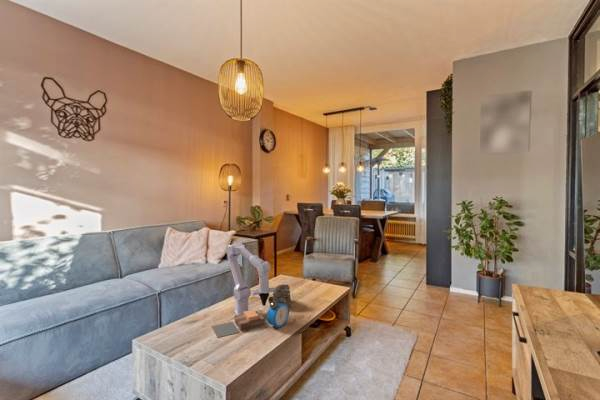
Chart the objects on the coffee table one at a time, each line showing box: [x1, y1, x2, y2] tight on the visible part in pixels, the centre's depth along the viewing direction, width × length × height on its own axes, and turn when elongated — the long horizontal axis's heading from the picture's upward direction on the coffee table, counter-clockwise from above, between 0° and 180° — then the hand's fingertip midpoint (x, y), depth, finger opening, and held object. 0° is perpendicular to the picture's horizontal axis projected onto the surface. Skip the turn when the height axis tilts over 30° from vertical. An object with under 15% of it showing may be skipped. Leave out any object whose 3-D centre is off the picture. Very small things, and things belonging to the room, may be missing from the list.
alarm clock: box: [266, 298, 290, 329], centre depth 169 cm, size 13×6×15 cm, turn 142°
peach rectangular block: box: [244, 309, 259, 321], centre depth 171 cm, size 9×6×2 cm, turn 30°
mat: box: [211, 321, 241, 338], centre depth 163 cm, size 14×12×1 cm
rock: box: [267, 283, 292, 307], centre depth 197 cm, size 18×14×15 cm
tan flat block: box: [234, 310, 265, 332], centre depth 170 cm, size 12×14×4 cm
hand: (263, 305), depth 174 cm, fingers closed
